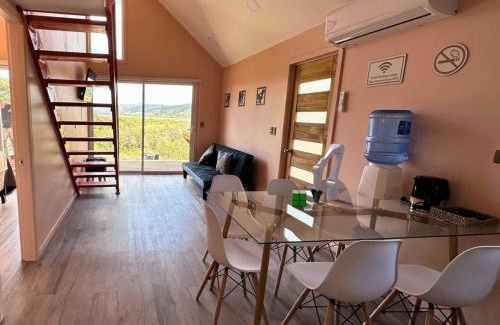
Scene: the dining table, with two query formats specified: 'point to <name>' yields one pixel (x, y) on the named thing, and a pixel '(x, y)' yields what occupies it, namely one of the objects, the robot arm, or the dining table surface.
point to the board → (331, 206)
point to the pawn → (315, 198)
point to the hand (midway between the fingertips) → (316, 199)
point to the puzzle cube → (298, 198)
